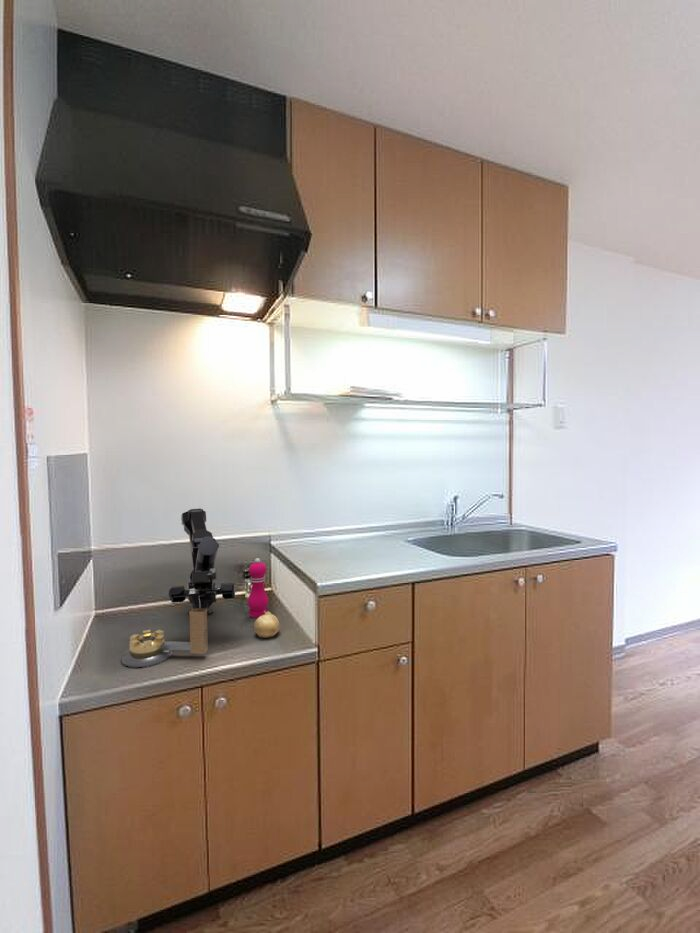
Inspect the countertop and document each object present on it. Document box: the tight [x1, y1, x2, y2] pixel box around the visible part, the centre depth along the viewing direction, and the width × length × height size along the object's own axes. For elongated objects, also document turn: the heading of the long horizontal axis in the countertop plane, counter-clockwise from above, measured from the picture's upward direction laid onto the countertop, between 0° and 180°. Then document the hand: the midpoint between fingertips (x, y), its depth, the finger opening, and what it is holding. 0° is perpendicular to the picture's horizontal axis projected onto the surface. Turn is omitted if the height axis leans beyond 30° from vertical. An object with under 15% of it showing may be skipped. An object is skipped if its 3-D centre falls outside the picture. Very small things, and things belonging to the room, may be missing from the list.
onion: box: [253, 611, 280, 639], centre depth 138 cm, size 8×8×7 cm
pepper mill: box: [247, 557, 269, 619], centre depth 153 cm, size 7×7×20 cm
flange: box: [121, 647, 173, 669], centre depth 124 cm, size 13×13×2 cm
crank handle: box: [129, 608, 209, 658], centre depth 124 cm, size 22×9×12 cm, turn 87°
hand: (200, 620), depth 128 cm, fingers closed
